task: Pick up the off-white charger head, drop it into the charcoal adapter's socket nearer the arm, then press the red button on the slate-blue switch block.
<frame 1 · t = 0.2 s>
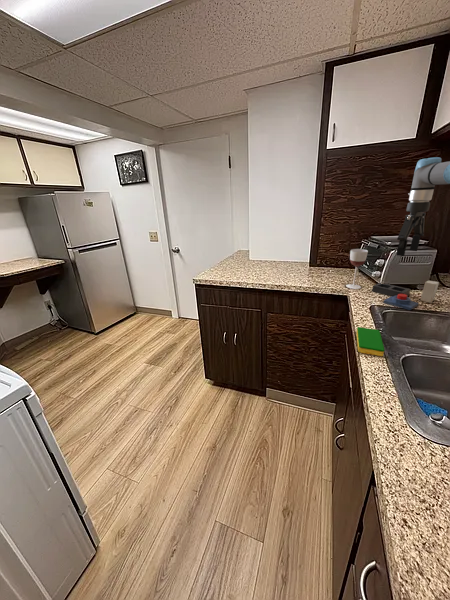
hand: (406, 253, 109), 23 cm above the counter, tool pointing down, fingers open, 13 cm apart
wineglass: (353, 286, 137), on the counter
switchbox: (400, 304, 113), on the counter
charger: (426, 300, 116), on the counter
adapter: (390, 292, 126), on the counter
switch: (402, 296, 112), point 4 cm above the counter, slide at 0.2 cm
dish sponge: (368, 344, 86), on the counter
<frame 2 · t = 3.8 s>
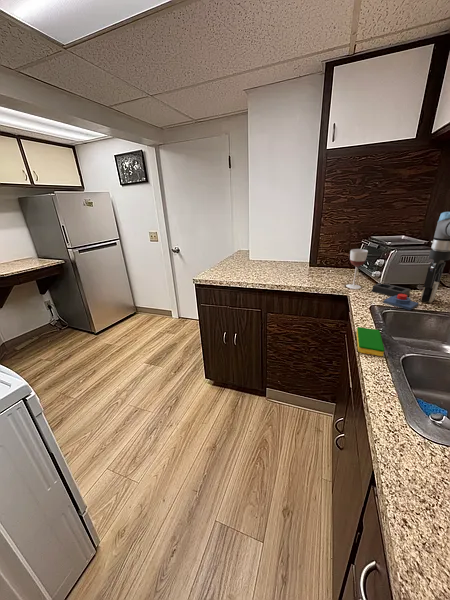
hand: (427, 299, 115), 0 cm above the counter, tool pointing down, fingers closed on charger, 4 cm apart
charger: (426, 300, 116), on the counter, touching gripper
everything else where it was.
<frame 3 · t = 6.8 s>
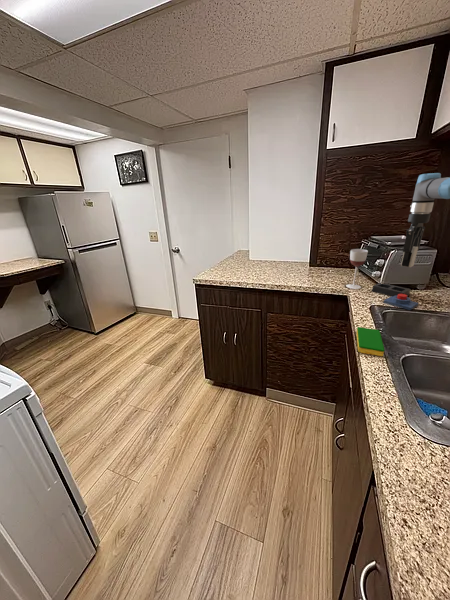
hand: (407, 265, 117), 15 cm above the counter, tool pointing down, fingers closed on charger, 4 cm apart
charger: (406, 265, 117), point 15 cm above the counter, touching gripper
everything else where it was.
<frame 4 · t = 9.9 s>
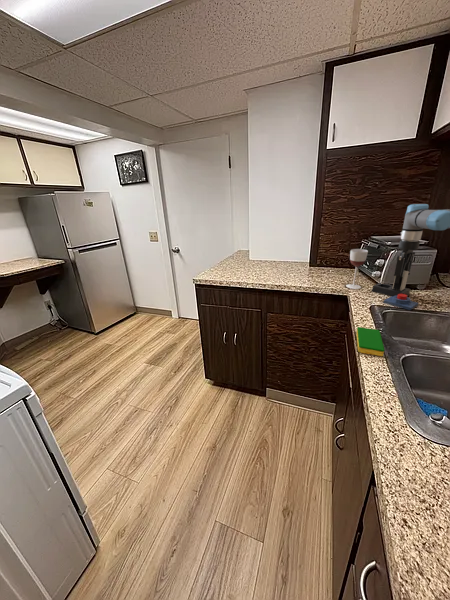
hand: (398, 287, 122), 4 cm above the counter, tool pointing down, fingers closed on charger, 4 cm apart
charger: (398, 288, 122), point 3 cm above the counter, touching gripper
everything else where it was.
when the fingers open (5 cm above the counter, at t = 14.3 s): charger drops 4 cm, resting in adapter.
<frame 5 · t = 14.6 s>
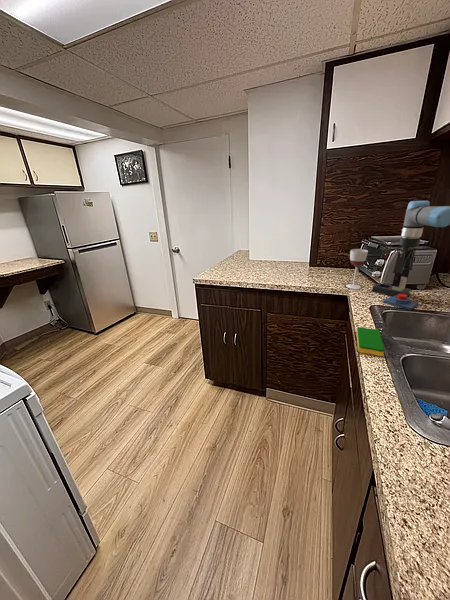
hand: (399, 284, 121), 5 cm above the counter, tool pointing down, fingers open, 8 cm apart
charger: (396, 294, 124), resting in adapter
everything else where it was.
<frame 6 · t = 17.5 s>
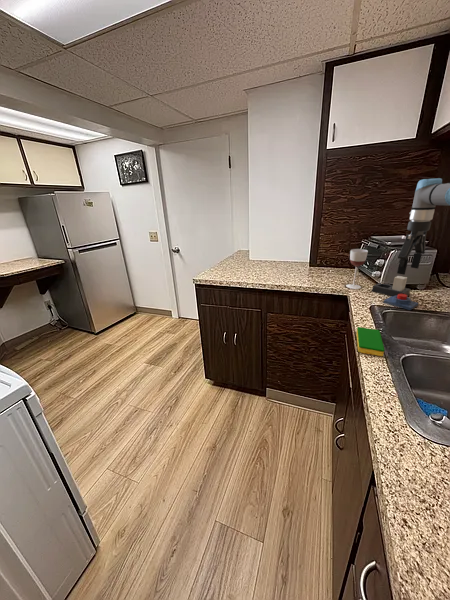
hand: (407, 270, 109), 15 cm above the counter, tool pointing down, fingers open, 13 cm apart
nothing on the counter moved.
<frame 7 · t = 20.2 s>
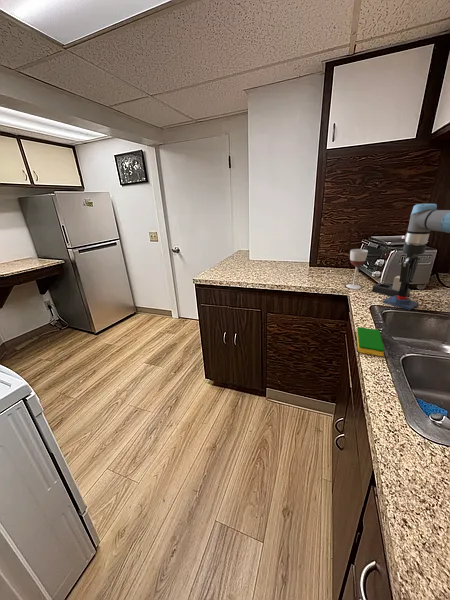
hand: (402, 295, 112), 4 cm above the counter, tool pointing down, fingers closed
switch: (401, 298, 112), point 3 cm above the counter, slide at -0.5 cm, touching gripper
everything else where it was.
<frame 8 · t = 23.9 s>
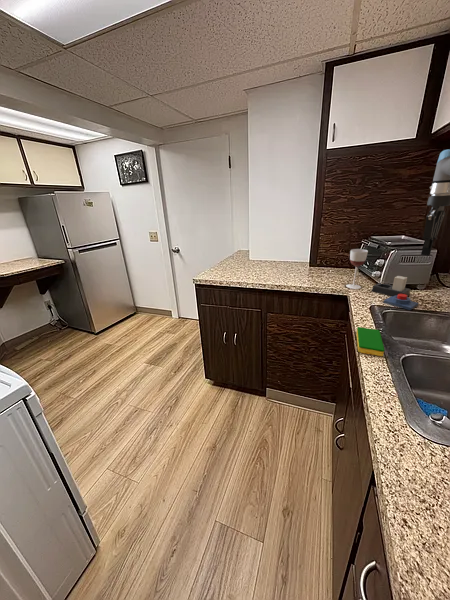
hand: (425, 254, 105), 22 cm above the counter, tool pointing down, fingers closed
switch: (402, 296, 112), point 4 cm above the counter, slide at 0.1 cm
everything else where it was.
at the end: charger 0.0 cm from the target spot in the adapter, point 0.0 cm above the adapter's base; charger tilted 0°; switch pushed in 1.0 cm at the most during the clip, back to where it started at the end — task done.
